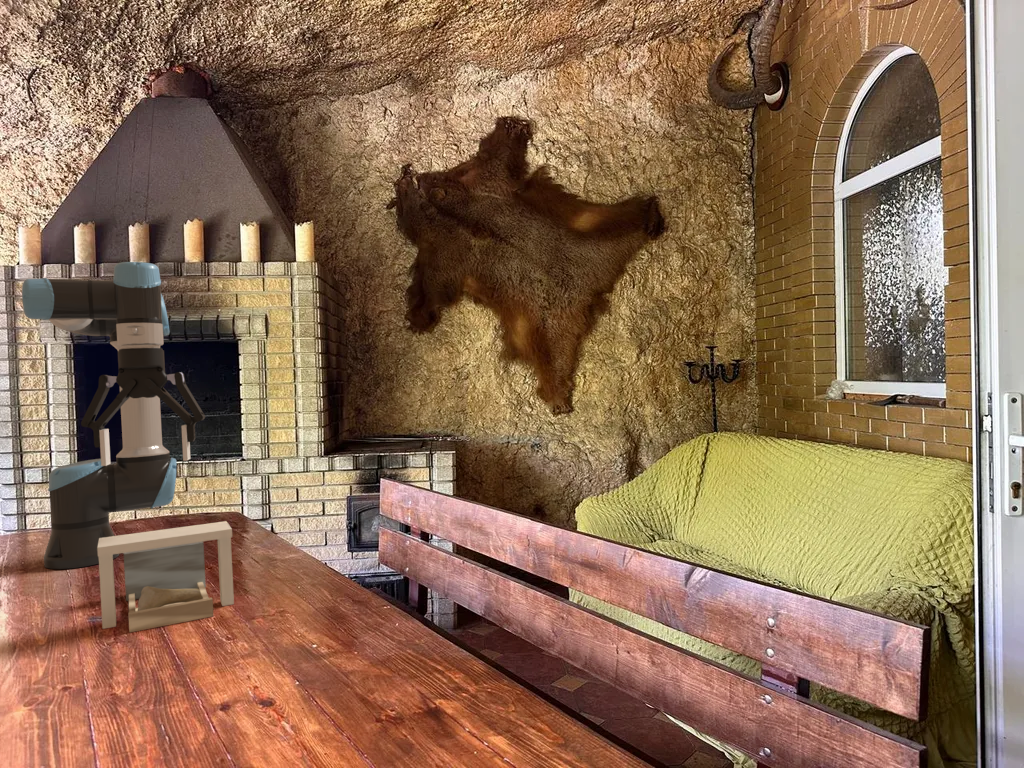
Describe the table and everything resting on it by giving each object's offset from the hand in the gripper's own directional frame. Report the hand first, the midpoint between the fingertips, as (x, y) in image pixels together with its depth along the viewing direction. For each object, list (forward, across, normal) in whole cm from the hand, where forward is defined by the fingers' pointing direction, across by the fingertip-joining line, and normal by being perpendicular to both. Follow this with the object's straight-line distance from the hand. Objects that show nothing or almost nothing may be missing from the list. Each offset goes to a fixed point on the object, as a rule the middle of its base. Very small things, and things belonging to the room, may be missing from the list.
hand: (147, 462), depth 128 cm
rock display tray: (+27, +2, 0) cm, 27 cm away
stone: (+27, +4, -5) cm, 27 cm away
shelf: (+27, +4, -5) cm, 28 cm away
